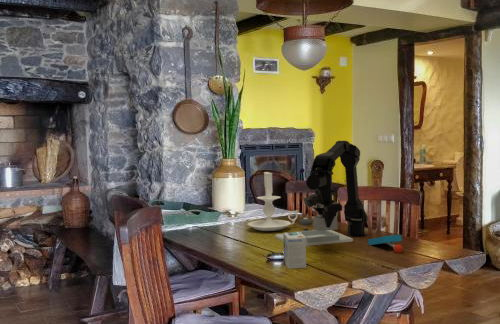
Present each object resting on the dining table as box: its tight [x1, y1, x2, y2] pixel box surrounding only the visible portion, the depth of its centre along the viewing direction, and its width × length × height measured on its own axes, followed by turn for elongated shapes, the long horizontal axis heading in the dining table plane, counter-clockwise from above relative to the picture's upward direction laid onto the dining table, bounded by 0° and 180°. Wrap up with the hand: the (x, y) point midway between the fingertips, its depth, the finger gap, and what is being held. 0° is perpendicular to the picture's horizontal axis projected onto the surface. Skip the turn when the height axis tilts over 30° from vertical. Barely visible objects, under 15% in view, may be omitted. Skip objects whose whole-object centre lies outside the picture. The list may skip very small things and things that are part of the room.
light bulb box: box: [282, 231, 307, 270], centre depth 195 cm, size 11×7×11 cm, turn 5°
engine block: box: [312, 213, 338, 231], centre depth 217 cm, size 8×5×6 cm, turn 107°
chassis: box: [274, 228, 354, 247], centre depth 237 cm, size 27×22×3 cm
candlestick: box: [247, 171, 299, 232], centre depth 261 cm, size 21×25×28 cm
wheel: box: [298, 217, 313, 226], centre depth 244 cm, size 6×6×3 cm
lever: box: [367, 234, 404, 254], centre depth 217 cm, size 7×7×18 cm
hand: (325, 226), depth 217 cm, fingers closed on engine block, 5 cm apart
